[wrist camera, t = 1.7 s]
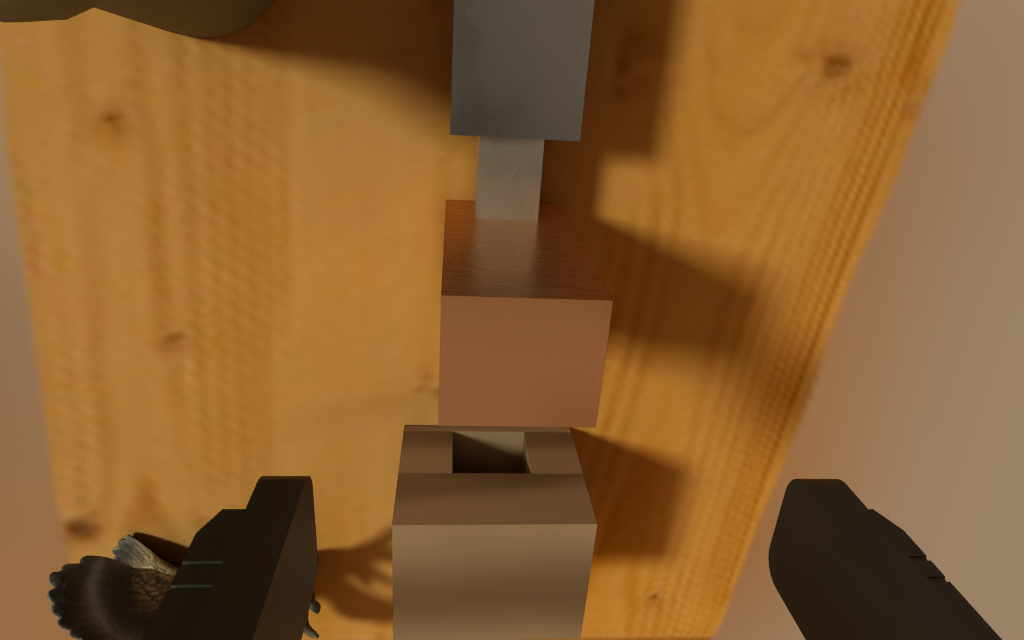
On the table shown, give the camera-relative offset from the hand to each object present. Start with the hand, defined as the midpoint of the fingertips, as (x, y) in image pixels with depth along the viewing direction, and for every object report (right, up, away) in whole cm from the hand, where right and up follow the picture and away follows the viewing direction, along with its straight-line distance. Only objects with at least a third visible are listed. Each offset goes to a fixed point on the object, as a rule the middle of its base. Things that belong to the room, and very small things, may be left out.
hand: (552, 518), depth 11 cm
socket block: (-2, -4, +18) cm, 18 cm away
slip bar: (-1, +9, +12) cm, 15 cm away
